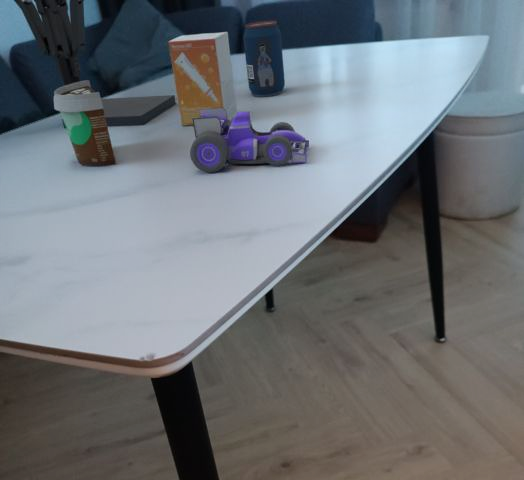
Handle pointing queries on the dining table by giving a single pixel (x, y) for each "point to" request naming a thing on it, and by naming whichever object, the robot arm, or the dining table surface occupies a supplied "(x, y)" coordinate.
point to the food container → (85, 123)
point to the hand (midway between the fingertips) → (75, 96)
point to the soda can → (264, 58)
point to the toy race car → (241, 142)
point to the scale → (134, 109)
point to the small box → (202, 74)
